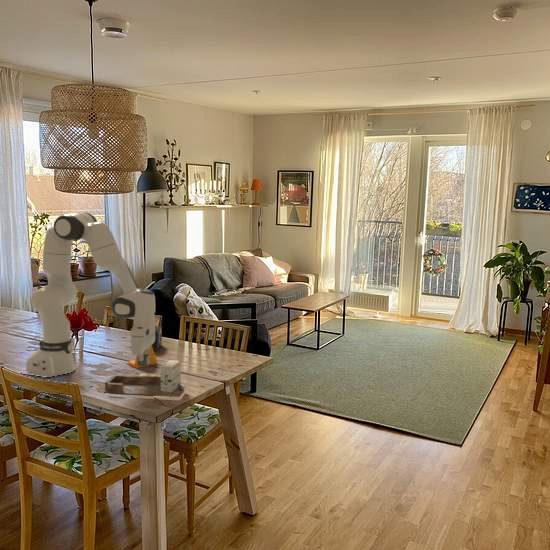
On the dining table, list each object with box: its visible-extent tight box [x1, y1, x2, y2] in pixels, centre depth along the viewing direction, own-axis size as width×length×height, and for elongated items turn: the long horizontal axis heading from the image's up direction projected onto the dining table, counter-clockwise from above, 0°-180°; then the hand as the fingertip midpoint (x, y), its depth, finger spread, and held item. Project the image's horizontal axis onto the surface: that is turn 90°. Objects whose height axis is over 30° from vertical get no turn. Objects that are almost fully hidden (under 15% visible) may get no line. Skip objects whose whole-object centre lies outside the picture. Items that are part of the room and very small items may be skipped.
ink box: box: [159, 359, 181, 393], centre depth 220 cm, size 9×5×12 cm, turn 163°
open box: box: [103, 374, 161, 397], centre depth 221 cm, size 20×11×4 cm, turn 85°
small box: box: [152, 325, 163, 352], centre depth 278 cm, size 11×6×10 cm, turn 178°
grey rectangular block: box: [138, 350, 150, 367], centre depth 232 cm, size 4×4×6 cm
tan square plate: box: [137, 372, 157, 377], centre depth 234 cm, size 7×7×1 cm
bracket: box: [128, 345, 158, 369], centre depth 249 cm, size 11×7×12 cm, turn 140°
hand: (143, 358), depth 232 cm, fingers closed on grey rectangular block, 4 cm apart
